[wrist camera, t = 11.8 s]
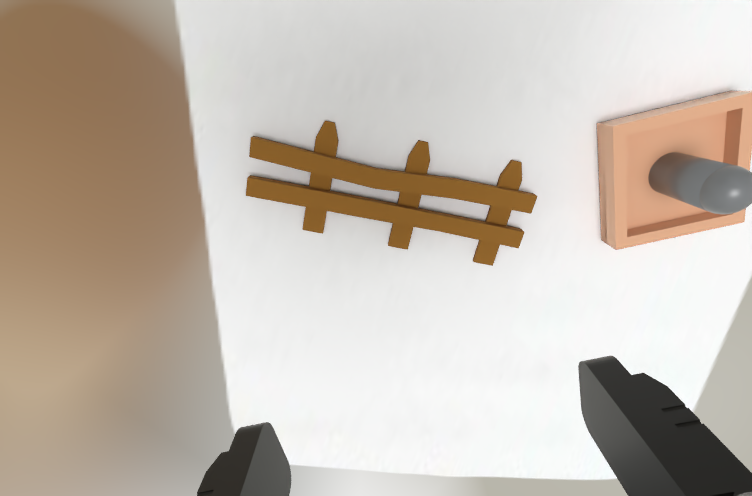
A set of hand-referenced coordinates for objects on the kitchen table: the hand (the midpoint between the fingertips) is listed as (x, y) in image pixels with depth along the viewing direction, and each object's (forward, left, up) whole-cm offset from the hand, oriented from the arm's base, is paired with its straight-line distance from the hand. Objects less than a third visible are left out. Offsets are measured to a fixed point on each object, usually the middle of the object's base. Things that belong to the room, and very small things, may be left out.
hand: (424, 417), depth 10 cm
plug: (+5, +24, -27) cm, 37 cm away
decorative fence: (+1, 0, -29) cm, 29 cm away
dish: (+5, +24, -28) cm, 37 cm away
